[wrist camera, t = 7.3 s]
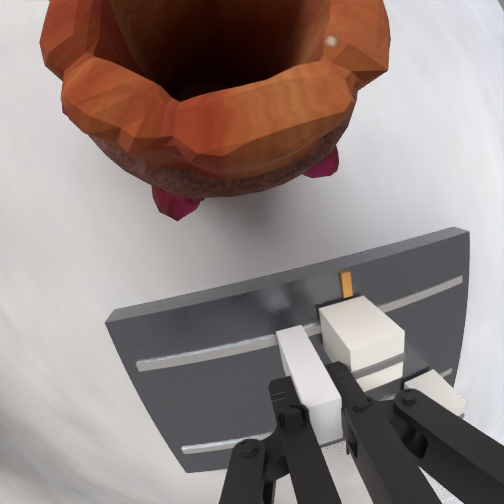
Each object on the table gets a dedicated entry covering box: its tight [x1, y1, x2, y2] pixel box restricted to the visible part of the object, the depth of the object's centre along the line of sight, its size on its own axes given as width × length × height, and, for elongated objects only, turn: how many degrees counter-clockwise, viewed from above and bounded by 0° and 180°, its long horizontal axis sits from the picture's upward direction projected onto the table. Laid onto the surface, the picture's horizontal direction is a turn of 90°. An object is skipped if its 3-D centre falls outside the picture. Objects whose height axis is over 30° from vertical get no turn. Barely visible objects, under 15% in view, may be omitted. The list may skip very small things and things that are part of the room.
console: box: [105, 227, 470, 473], centre depth 20 cm, size 26×16×2 cm, turn 102°
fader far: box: [404, 369, 467, 419], centre depth 18 cm, size 3×3×5 cm
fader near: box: [319, 296, 406, 392], centre depth 16 cm, size 3×3×5 cm
